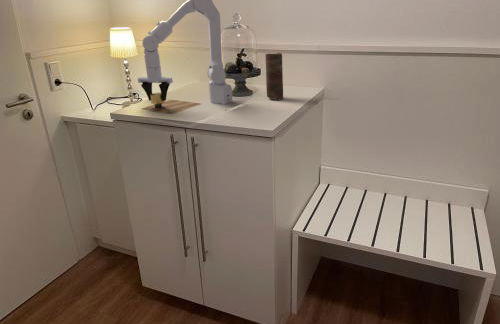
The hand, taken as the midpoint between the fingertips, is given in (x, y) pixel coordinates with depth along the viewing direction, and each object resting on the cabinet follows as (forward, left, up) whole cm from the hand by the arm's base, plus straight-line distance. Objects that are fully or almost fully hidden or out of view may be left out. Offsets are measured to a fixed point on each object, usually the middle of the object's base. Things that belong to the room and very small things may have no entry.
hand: (157, 100), depth 156 cm
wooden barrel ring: (0, 0, -1) cm, 1 cm away
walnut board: (-4, -3, -4) cm, 7 cm away
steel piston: (0, 0, -4) cm, 4 cm away
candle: (-35, -37, -4) cm, 51 cm away
